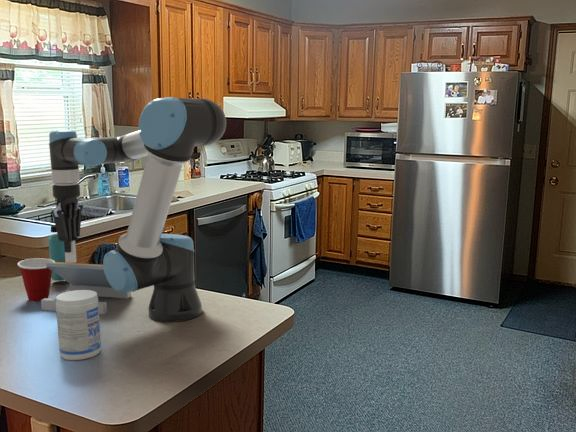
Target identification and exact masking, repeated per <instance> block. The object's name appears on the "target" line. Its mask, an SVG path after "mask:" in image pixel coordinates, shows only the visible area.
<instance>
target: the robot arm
mask: <svg viewBox="0 0 576 432" xmlns="http://www.w3.org/2000/svg"><path fill="white" fill-rule="evenodd" d="M139 116H140V117H139V120H138V130H136V131H133V132H130V133H126V134H123V135H121V136H112V137H108V136H107V137H78V135H77V132H76V130H71V129H70V130H68V129H67V130H65V129H64V130H63V129H61V130H51V131H50V132H49V134H48V135H49V143H48V147H49V148H48V149H49V159H50V167H51V181H52V183H53V185H52V196H53V198H54V199H56V208H55V209H52V210H51V212H50V213H51V215H52V217H53V220H54V225H56V230H57V232H56V234H58V239H59V241H63V242H64V250H65V261H66V263H77V247H76V245H77V244H76V241H79V239H80V236H81V225H82V223H81V222H82V212H83V208H84V204H83V203H79V201H78V198H79V197H81V185H80V184H79V183H80V179H81V178H80V169H79V168H80V167H79V166H85V167H97V166H101V165H105V164H115V163H116V164H117V163H133V162H137V161H140V160H141V158H144V157H146V159H145V165H144V169H143V171H142V175H141V179H140V182H139V187H138V191H137V194H136V196H135V202H134V205H133V208H132V212H131V215H130V219H129V223H128V227H127V231H126V233H123V234H121V235H120V236H119V238H118V240H117V244H116V248H115V249H112V250H109V251H108V252H106V253H105V254H104V256H103V261H102V262H103V263H102V265H103V269H104V273H105V275H106V278H107V280H108V282H109V284H110V285H111V286H112V287H113V288H114V289H115V290H116V291H118V292H120V293H128V292H131V293H134V292H137V291H139V290H142V289H146V288H149V287H153V290H152V295H151V297H150V301H149V304H148V316H149V318H150V319H151V320H154V321H158V322H165V323H166V322H170V323H171V322H182V321H188V320H192V319H195V318H197V317H198V316H200V315H201V314H202V312H203V309H202V308H203V307H202V302H201V299H200V296H199V293H198V291H197V288H196V280H195V279H196V278H195V249H194V240H193V238H192V237H190V236H188V235H183V234H176V233H175V234H174V233H173V234H172V233H163V232H164V231H163V230H164V227H165V224H166V220H167V217H168V214H169V211H170V207H171V204H172V200H173V198H174V194H175V190H176V189H177V188H176V187H177V184H178V180H179V176H180V174H181V170H182V167H183V164H185V163H188V162H190V161H191V158H192V156H193V153H194V149H195V147H204V146H210V145H213V144H215V143H216V142H218V141H220V139H221V138H222V137H223V136H224V134H225V132H226V129H227V117H226V115H225V112H224V110H223V108H221V106H220V105H219V104H217V103H216V102H215V101H212V100H210V99H207V98H201V97H200V98H199V97H198V98H194V97H193V98H191V97H187V98H185V97H174V96H167V97H160V98H159V97H158V98H155V99H152V100H151V101H150V102H148V103H147V104H146V105H145V106H144V108H143V109H142V111H141V114H140V115H139Z"/></svg>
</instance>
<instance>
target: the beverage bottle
mask: <svg viewBox="0 0 576 432" xmlns="http://www.w3.org/2000/svg"><path fill="white" fill-rule="evenodd" d="M50 233H56V234H51V235H50V236H49V237H48V239H47V241H48V250H49V251H48V252H49V259H51V260H54V261H55V262H62V263H66V261H65V250H64V242H63V241H59V239H58V234H57V230H56V225H55V224H53V225H51V226H50ZM51 281H57V282H58V281H59V282H60V281H65V280H64V279H63V278H61V277H60V276H59V275H57V274H56V273H54V272H53V271H52V275H51Z"/></svg>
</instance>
